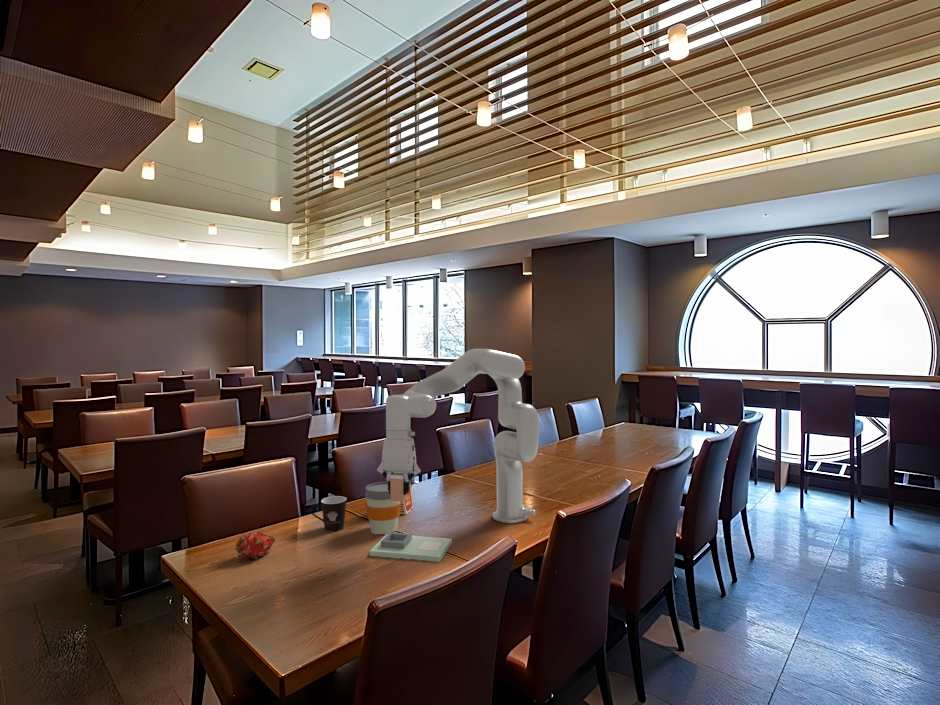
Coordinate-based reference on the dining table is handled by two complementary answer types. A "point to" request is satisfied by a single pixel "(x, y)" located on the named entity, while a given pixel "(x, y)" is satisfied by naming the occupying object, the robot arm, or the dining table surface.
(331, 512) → the coffee mug
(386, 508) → the reusable coffee cup
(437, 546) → the board
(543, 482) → the dining table surface
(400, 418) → the robot arm
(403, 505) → the milk carton
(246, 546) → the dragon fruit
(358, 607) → the dining table surface
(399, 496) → the tan upright block
